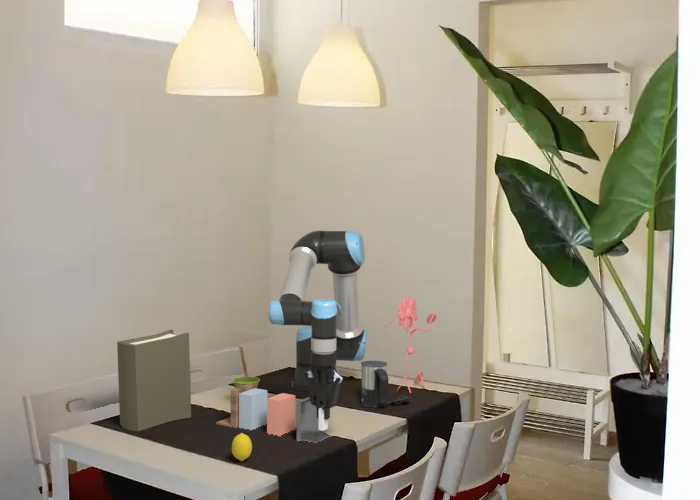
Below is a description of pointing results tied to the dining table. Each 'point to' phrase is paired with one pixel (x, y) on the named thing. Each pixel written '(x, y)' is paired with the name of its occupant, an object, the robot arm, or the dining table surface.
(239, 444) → the lemon
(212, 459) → the dining table surface
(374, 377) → the milk frother
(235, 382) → the plant pot
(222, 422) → the shelf end
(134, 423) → the book
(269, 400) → the red block
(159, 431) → the dining table surface
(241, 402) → the blue block
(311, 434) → the bookend
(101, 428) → the dining table surface
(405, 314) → the pink daisy dancer statuette
